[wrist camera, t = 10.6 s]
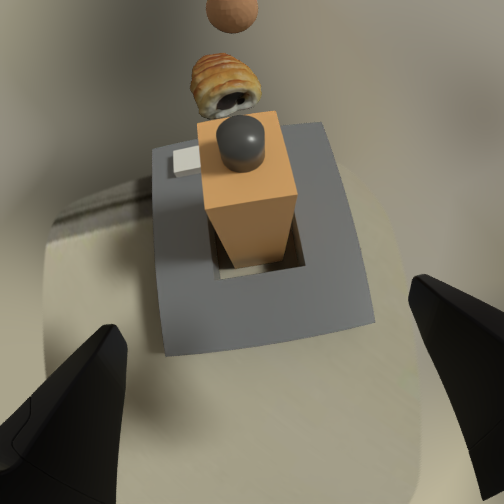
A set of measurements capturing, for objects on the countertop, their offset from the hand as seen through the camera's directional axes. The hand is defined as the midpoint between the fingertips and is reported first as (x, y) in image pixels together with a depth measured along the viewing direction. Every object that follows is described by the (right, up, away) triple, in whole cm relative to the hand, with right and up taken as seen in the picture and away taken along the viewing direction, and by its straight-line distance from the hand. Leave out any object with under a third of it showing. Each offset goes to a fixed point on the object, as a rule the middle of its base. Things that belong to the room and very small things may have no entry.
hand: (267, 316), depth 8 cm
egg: (-3, +31, +22) cm, 38 cm away
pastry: (-3, +18, +19) cm, 27 cm away
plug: (0, +3, +15) cm, 15 cm away
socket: (0, +3, +15) cm, 15 cm away
